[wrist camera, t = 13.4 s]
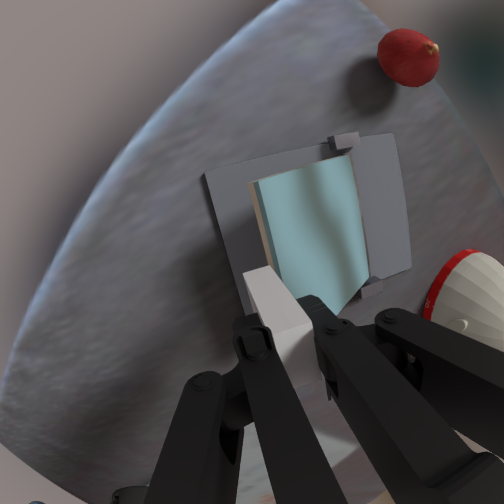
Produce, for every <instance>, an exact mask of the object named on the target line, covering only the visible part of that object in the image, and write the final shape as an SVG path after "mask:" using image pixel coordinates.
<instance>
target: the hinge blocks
mask: <svg viewBox="0 0 504 504" xmlns="http://www.w3.org/2000/svg"><path fill="white" fill-rule="evenodd" d="M327 139H328V143H329V147H330V151H332V150H338V149H343V148H349V147H354V146H360V145H361V142H360V137H359V133H358V132H353V133H347V134H341V135H335V136H331V137H327ZM382 291H383V285H382V280H381V279H380V278H378V277H376V276H372V277H371V278H370V279H367V280H366V281H365V283H364V284H363V285H362V286H361V287H360V289H359V290H358V291H357V292H356V293H355V294H356V295H357V296H359V297H360V298H361V299H364V298H367V297H370V296H372V295H375V294H377V293H380V292H382Z"/></svg>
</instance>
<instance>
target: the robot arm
mask: <svg viewBox="0 0 504 504" xmlns="http://www.w3.org/2000/svg"><path fill="white" fill-rule="evenodd" d="M243 277H244V280H245V284H246V287H247V291H248V294H249V298H250V301H251V305H252V308H253V312H254V313H253V314H250V315H246V316H243V317H239V318H236V319H235V321H234V323H233V325H232V326H233V331H234V335H235V336H234V337H233V341H232V342H233V345H234V348H235V351H236V353H237V356H238V359H239V363H238V364H237V366H236V367H235V368H234V369H233V370H231V371H230V372H228V373H226V374H224V375H222V376H221V375H220V374H219V373H217V372H214V371H206V372H202V373H199V374H197V375H194V376H193V377H192V378H190V379H189V380H188V381H187V383H186V384H185V386H184V389H183V392H182V395H181V397H180V400H179V403H178V406H177V409H176V411H175V414H174V417H173V420H172V422H171V425H170V428H169V431H168V434H167V436H166V439H165V442H164V445H163V448H162V450H161V453H160V456H159V459H158V462H157V465H156V468H155V470H154V473H153V476H152V479H151V482H150V485H149V487H147V486H131V487H125V488H121V489H118V490H117V491H115V492H114V493H113V496H112V499H113V503H114V504H235V503H236V495H237V487H238V479H239V471H240V462H241V454H242V446H243V437H244V427H245V426H246V425H248V424H250V423H252V422H254V423H255V427H256V431H257V435H258V439H259V442H260V446H261V450H262V454H263V457H264V461H265V465H266V468H267V472H268V476H269V479H270V483H271V486H272V490H273V493H274V497H275V500H276V504H348V503H347V501H346V498H345V496H344V494H343V492H342V490H341V488H340V486H339V484H338V482H337V480H336V478H335V476H334V473H333V471H332V469H331V467H330V465H329V463H328V461H327V459H326V457H325V454H324V452H323V450H322V448H321V446H320V444H319V442H318V440H317V437H316V435H315V433H314V431H313V429H312V427H311V425H310V422H309V420H308V418H307V416H306V414H305V412H304V409H303V407H302V405H301V403H300V401H299V399H298V396H297V394H296V392H295V390H294V389H296V388H299V387H302V386H305V385H308V384H311V383H313V382H316V381H319V380H322V376H321V371H322V373H323V375H324V376H325V382H326V389H327V395H328V400H331V396H332V397H333V399H334V401H335V402H336V404H337V406H338V407H339V409H340V411H341V412H342V414H343V416H344V418H345V419H346V421H347V423H348V424H349V426H350V428H351V429H352V431H353V433H354V434H355V436H356V438H357V440H358V441H359V443H360V445H361V446H362V448H363V450H364V451H365V453H366V455H367V456H368V458H369V460H370V461H371V463H372V465H373V466H374V468H375V470H376V472H377V473H378V475H379V477H380V478H381V480H382V482H383V483H384V485H385V487H386V488H387V490H388V492H389V493H390V495H391V497H392V498H393V500H394V502H395V503H396V504H504V463H503V462H502V461H501V460H500V459H499V458H498V457H497V456H499V457H500V458H502V459H503V460H504V352H502V351H500V350H498V349H495V348H493V347H491V346H488V345H486V344H484V343H481V342H479V341H477V340H474V339H472V338H470V337H467V336H465V335H463V334H460V333H458V332H456V331H453V330H451V329H449V328H446V327H444V326H442V325H439V324H437V323H435V322H432V321H430V320H427V319H425V318H423V317H420V316H418V315H416V314H413V313H411V312H409V311H406V310H404V309H400V308H389V309H385V310H383V311H381V312H379V313H378V314H377V315H376V317H375V324H371V325H366V326H355V325H354V324H353V323H352V322H350V321H349V320H346V319H338V317H337V316H336V315H335V314H334V313H333V312H332V311H331V310H330V309H329V308H328V307H327V306H326V305H325V303H323V301H322V300H321V299H320V298H319V297H317V296H314V295H311V294H310V295H307V296H304V297H301V298H298V299H295V298H294V297H293V296H292V294H291V293H290V292H289V290H288V289H287V288H286V286H285V285H284V284H283V282H282V281H281V280H280V278H279V277H278V276H277V274H276V273H275V272H274V270H273V269H272V268H271V266H270V265H268V266H265V267H262V268H258V269H255V270H252V271H248V272H245V273H243ZM409 354H411V355H413V356H414V357H416V358H415V360H413V359H411V358H409ZM320 370H321V371H320ZM451 427H452V428H453V429H455V430H457V431H458V432H460V433H461V434H463V435H464V436H466V437H468V438H469V439H471V440H472V441H474V442H476V443H477V444H479V445H480V446H482V447H484V448H485V449H487V450H489V451H490V452H492V453H489V452H481V453H476V452H474V451H472V450H471V449H470V448H469V447H468V446H467V444H466V443H465V442H464V441H463V440H462V439H461V438H460V437H459V435H457V433H456V432H455V431H454V430H453V429H452V428H451ZM494 454H495V455H497V456H495V455H494ZM117 496H119V497H117ZM29 504H45V503H42V502H39V501H33V502H31V503H29Z"/></svg>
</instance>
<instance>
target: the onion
mask: <svg viewBox="0 0 504 504" xmlns="http://www.w3.org/2000/svg"><path fill="white" fill-rule="evenodd" d="M438 51H439V50H438V46H437V44H435V43H433V42H432V41H431V40H430V39H429V38H428V37H427V36H425V35H423V34H421V33H419V32H416V31H413V30H409V29H396V30H394V31H391V32H389V33H387V34H386V35H385V36H384V37H383V39H382V40H381V41H380V43H379V44H378V52H377V57H378V61H379V64H380V66H381V68H382V69H383V71H384V73H385V74H386V75H387V76H388V77H390V78H391V79H392V80H394V81H395V82H397V83H399V84H401V85H403V86H408V87H419V86H422V85H424V84H426V83H428V82H430V81H431V80H432V79H433V78H434V76H435V74H436V73H437V71H438V68H439V52H438Z"/></svg>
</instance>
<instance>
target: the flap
mask: <svg viewBox="0 0 504 504" xmlns="http://www.w3.org/2000/svg"><path fill="white" fill-rule="evenodd" d="M248 186H249V190H250V194H251V198H252V202H253V206H254V210H255V214H256V217H257V221H258V225H259V229H260V233H261V237H262V241H263V245H264V249H265V253H266V257H267V261H268V265H270V266H271V268H272V269H273V270H274V272H275V273H276V274H277V276H278V277H279V278H280V280H281V281H282V282H283V284H284V285H285V286H286V288H287V289H288V290H289V292H290V293H291V294H292V296H293V297H294V298H295V299H298V298H301V297H304V296H307V295H310V294H311V295H314V296H317V297H319V298H320V299H321V300H322V301H323V303H325V305H326V306H327V307H328V308H329V309H330V310H331V311H332V312H333V313H334V314H335V315H337V314H338V313H339V312H340V311H341V309H342V308H343V307H344V306H345V305H346V304H347V303H348V301H349V300H350V299H351V298H352V297H353V296H354V294H355V293H356V292H357V291H358V290H359V289H360V287H361V286H362V285H363V284H364V283H365V281H366V280H367V279H370V278H371V270H370V261H369V253H368V245H367V238H366V231H365V225H364V218H363V212H362V206H361V200H360V195H359V189H358V184H357V179H356V174H355V169H354V164H353V159H352V155H351V152H345V153H341V156H338V157H334V158H331V159H327V160H323V161H320V162H316V163H313V164H309V165H306V166H302V167H299V168H295V169H292V170H288V171H285V172H282V173H279V174H275V175H272V176H269V177H266V178H262V179H259V180H256V181H253V182H250V183H248Z"/></svg>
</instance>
